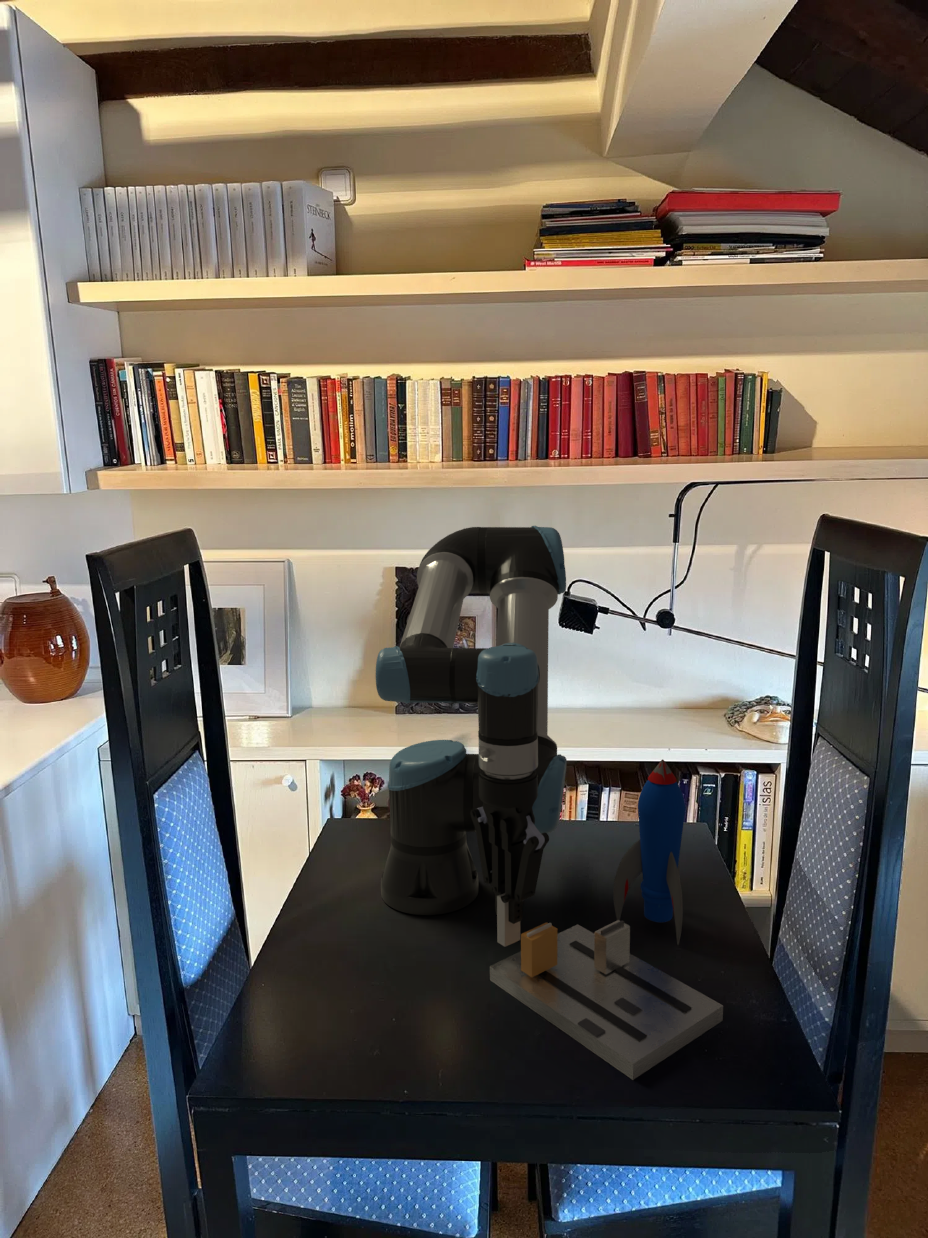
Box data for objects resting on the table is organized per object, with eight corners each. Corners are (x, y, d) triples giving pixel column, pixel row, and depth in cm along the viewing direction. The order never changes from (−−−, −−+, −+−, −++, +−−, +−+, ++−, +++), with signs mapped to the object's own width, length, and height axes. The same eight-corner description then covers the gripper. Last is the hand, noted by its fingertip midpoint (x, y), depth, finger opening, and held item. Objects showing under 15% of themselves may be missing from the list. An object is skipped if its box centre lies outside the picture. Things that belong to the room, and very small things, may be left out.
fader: (521, 970, 112) (521, 931, 111) (546, 958, 115) (546, 919, 114) (531, 977, 110) (531, 937, 109) (557, 964, 113) (557, 925, 112)
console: (489, 980, 114) (489, 926, 113) (577, 937, 124) (577, 887, 123) (632, 1080, 96) (634, 1017, 94) (722, 1020, 106) (725, 962, 104)
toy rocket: (682, 949, 121) (688, 774, 116) (611, 942, 123) (614, 770, 118) (679, 909, 131) (685, 748, 127) (614, 903, 133) (617, 744, 129)
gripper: (453, 762, 115) (456, 930, 119) (519, 790, 105) (520, 973, 109) (497, 750, 120) (498, 912, 124) (565, 776, 110) (564, 952, 114)
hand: (508, 941), depth 116 cm, fingers closed
